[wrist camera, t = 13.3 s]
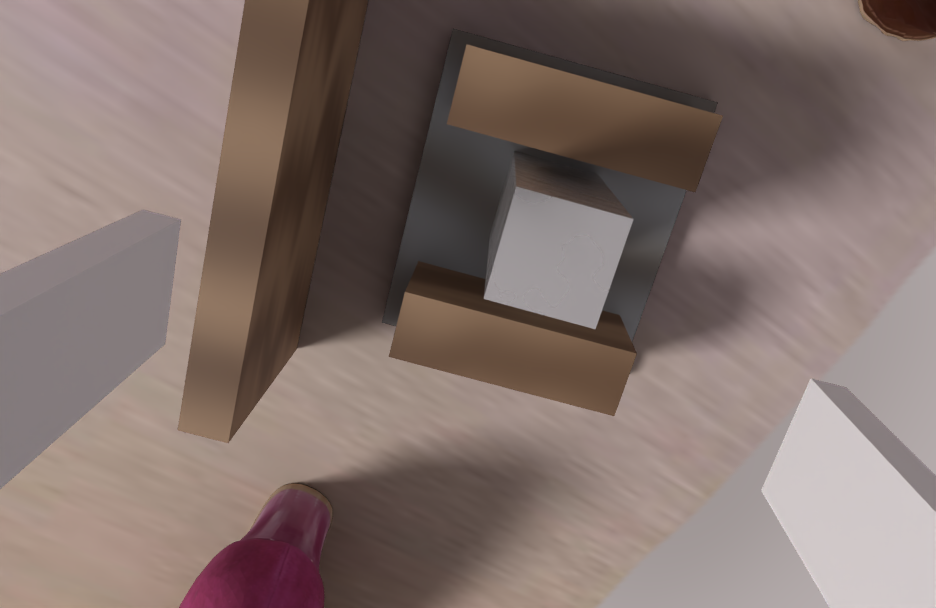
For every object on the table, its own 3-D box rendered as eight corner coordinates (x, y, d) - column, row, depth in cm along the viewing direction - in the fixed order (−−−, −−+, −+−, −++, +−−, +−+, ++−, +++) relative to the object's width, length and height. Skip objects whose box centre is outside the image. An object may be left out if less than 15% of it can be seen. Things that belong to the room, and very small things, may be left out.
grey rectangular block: (513, 151, 34) (516, 186, 25) (598, 174, 34) (633, 219, 25) (489, 234, 35) (483, 299, 26) (571, 257, 35) (595, 329, 26)
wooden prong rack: (337, -81, 32) (266, -138, 23) (736, 32, 33) (828, 22, 24) (258, 339, 39) (177, 430, 29) (595, 427, 39) (624, 545, 30)
